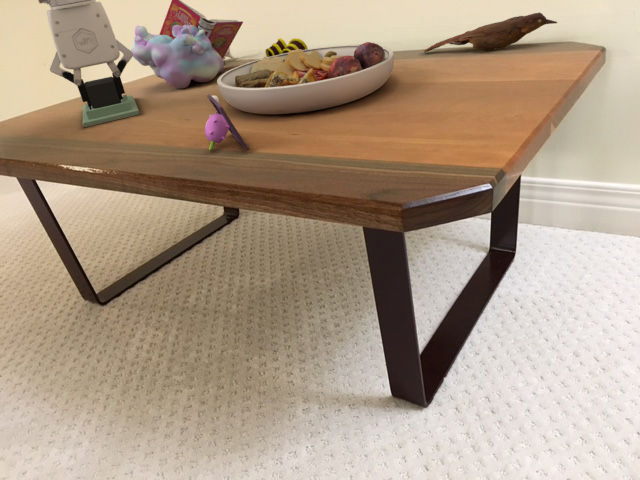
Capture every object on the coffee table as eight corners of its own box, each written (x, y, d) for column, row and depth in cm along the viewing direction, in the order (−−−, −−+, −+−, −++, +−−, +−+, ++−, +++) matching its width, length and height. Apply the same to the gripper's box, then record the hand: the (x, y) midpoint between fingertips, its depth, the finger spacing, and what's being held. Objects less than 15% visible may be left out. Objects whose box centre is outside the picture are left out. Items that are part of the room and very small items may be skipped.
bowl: (188, 122, 89) (175, 73, 85) (276, 75, 112) (268, 35, 108) (357, 120, 76) (350, 63, 72) (417, 68, 99) (414, 22, 95)
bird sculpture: (429, 61, 113) (424, 37, 111) (559, 30, 101) (556, 2, 99) (422, 70, 108) (416, 45, 106) (558, 38, 96) (554, 9, 94)
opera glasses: (268, 66, 126) (260, 45, 123) (283, 57, 129) (277, 36, 126) (295, 68, 120) (287, 46, 117) (311, 58, 122) (304, 36, 119)
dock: (83, 127, 97) (74, 101, 95) (83, 110, 110) (75, 86, 108) (139, 114, 99) (131, 88, 97) (133, 98, 113) (126, 75, 111)
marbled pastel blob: (113, 77, 111) (133, -10, 102) (142, 54, 129) (160, -22, 121) (209, 114, 115) (235, 33, 107) (223, 87, 133) (247, 16, 125)
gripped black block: (92, 109, 99) (85, 87, 97) (92, 102, 104) (85, 82, 102) (120, 102, 100) (113, 81, 98) (118, 97, 105) (112, 76, 103)
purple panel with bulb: (226, 102, 68) (213, 90, 76) (191, 125, 68) (181, 111, 75) (253, 146, 72) (238, 130, 79) (221, 168, 71) (208, 150, 79)
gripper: (16, 7, 88) (57, 116, 97) (122, -11, 92) (153, 95, 101) (20, 5, 94) (59, 108, 103) (119, -12, 99) (149, 88, 107)
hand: (105, 100), depth 102 cm, fingers closed on gripped black block, 5 cm apart
